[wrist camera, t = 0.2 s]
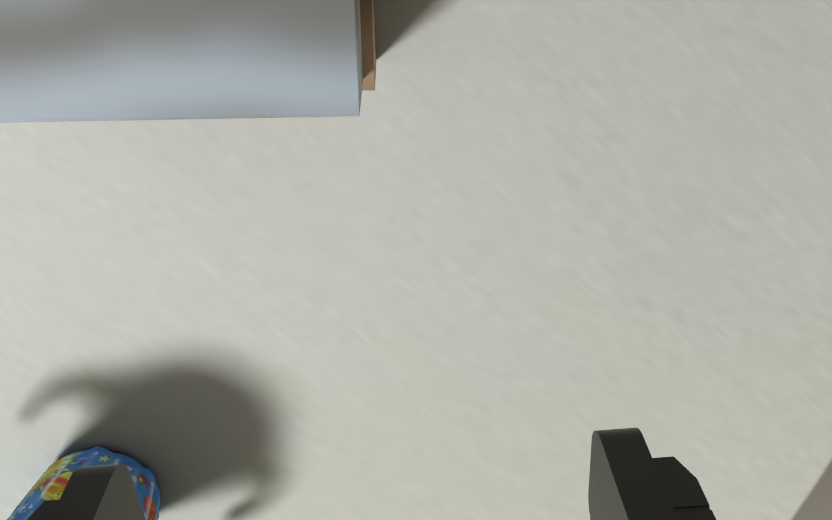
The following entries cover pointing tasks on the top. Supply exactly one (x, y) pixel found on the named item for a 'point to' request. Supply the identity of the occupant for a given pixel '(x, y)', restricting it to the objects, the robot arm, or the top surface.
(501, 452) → the top surface
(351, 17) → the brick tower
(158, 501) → the snack cup
